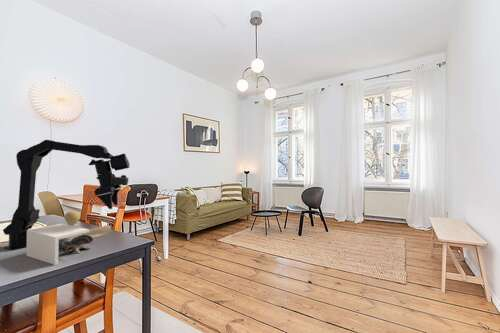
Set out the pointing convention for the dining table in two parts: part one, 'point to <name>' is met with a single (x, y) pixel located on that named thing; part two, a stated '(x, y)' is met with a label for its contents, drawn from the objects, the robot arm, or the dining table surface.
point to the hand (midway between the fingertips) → (113, 207)
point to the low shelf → (49, 241)
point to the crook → (92, 233)
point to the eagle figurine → (76, 243)
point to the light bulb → (72, 218)
